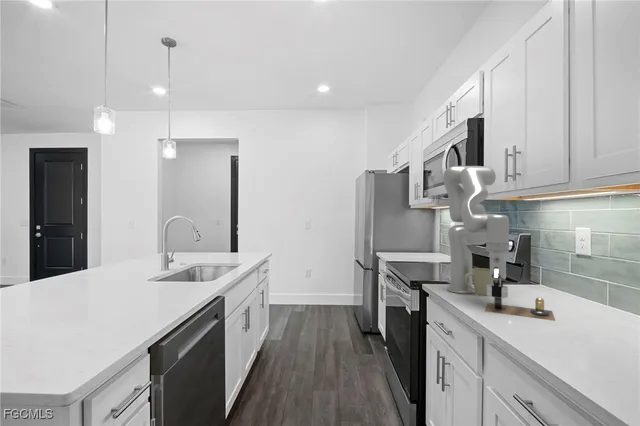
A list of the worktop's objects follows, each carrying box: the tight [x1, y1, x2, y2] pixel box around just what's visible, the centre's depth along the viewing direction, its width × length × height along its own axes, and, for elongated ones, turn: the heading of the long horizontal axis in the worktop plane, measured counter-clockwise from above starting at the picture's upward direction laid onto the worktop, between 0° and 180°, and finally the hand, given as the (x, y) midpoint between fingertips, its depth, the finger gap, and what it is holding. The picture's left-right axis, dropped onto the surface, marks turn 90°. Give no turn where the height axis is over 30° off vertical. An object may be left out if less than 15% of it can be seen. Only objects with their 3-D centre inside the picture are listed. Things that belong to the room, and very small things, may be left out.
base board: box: [484, 302, 556, 322], centre depth 119 cm, size 21×13×1 cm, turn 58°
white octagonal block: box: [487, 284, 509, 299], centre depth 123 cm, size 7×7×4 cm
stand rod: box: [493, 297, 503, 309], centre depth 122 cm, size 2×2×5 cm
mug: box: [465, 267, 492, 297], centre depth 144 cm, size 11×10×12 cm
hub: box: [530, 297, 550, 316], centre depth 115 cm, size 6×6×6 cm
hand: (497, 294), depth 123 cm, fingers closed on white octagonal block, 6 cm apart
